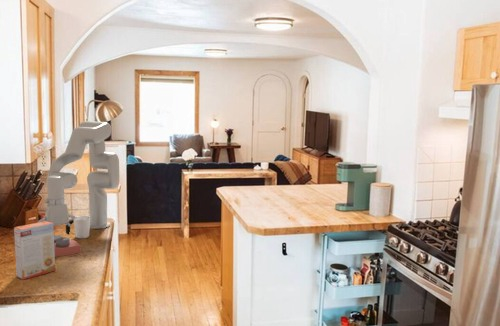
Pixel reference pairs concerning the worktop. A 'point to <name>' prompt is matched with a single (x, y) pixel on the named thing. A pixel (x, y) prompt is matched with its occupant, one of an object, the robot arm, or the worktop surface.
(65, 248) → the pink two-prong plug
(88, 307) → the worktop surface
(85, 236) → the white cup
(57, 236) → the gray rectangular box
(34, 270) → the cracker box
